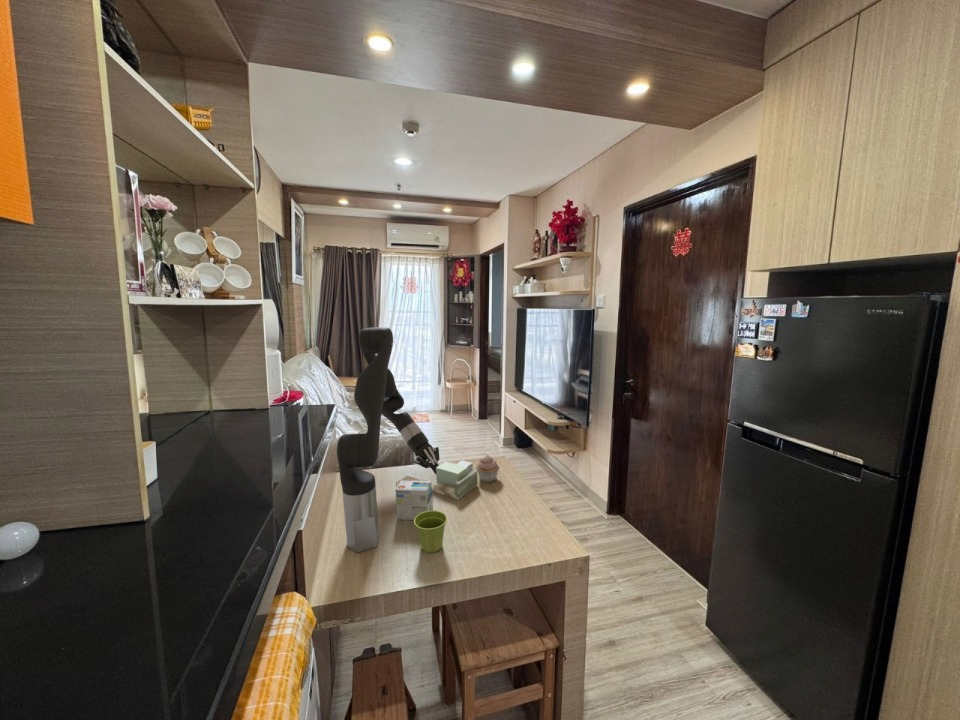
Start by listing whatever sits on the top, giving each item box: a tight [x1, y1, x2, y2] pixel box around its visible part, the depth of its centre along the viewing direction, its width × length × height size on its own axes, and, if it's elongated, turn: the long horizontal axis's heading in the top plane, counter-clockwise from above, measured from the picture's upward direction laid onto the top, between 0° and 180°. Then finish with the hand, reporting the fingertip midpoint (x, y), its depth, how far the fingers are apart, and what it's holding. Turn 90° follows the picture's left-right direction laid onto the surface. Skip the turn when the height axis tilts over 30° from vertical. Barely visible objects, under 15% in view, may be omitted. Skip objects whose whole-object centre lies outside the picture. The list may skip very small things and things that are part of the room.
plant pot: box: [413, 510, 448, 554], centre depth 114 cm, size 9×9×9 cm
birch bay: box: [433, 469, 478, 501], centre depth 147 cm, size 11×12×6 cm
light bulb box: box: [394, 479, 434, 521], centre depth 130 cm, size 11×7×11 cm, turn 84°
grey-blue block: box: [456, 460, 474, 474], centre depth 157 cm, size 5×5×5 cm
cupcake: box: [475, 454, 501, 483], centre depth 154 cm, size 9×9×10 cm
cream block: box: [395, 475, 421, 489], centre depth 143 cm, size 6×6×6 cm
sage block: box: [435, 461, 468, 488], centre depth 148 cm, size 10×6×8 cm, turn 58°
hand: (439, 473), depth 151 cm, fingers closed
